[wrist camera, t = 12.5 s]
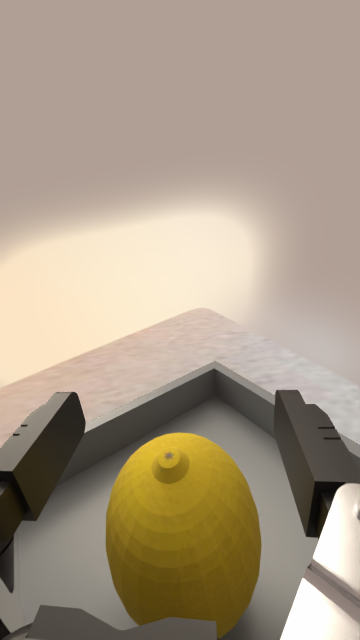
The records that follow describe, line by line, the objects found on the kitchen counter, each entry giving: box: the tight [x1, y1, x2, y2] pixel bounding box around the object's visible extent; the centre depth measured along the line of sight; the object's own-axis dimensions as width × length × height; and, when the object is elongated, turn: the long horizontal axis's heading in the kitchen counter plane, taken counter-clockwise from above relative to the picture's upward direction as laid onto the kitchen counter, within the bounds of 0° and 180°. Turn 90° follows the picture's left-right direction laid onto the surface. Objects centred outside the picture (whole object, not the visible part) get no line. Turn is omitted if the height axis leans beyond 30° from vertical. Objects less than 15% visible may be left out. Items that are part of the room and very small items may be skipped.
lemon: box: [106, 433, 262, 638], centre depth 10 cm, size 6×6×8 cm
